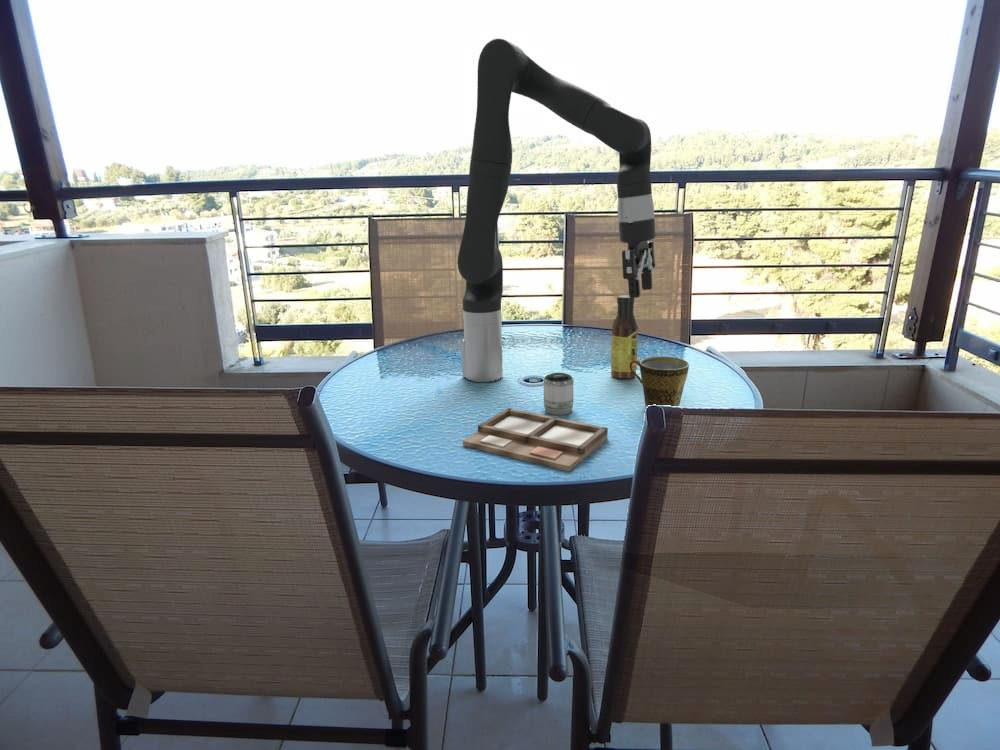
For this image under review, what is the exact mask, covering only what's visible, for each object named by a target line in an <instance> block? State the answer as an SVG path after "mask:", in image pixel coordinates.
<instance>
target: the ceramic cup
mask: <svg viewBox="0 0 1000 750" xmlns="http://www.w3.org/2000/svg"><path fill="white" fill-rule="evenodd" d="M633 363H636V364H637V366H638V367H639V371H640V376H639V375H638V373H637V372H636V373H635V372H634V370H633V369H632V364H633ZM689 369H690V363H689V361H686V360H685V359H683V358H678V357H672V356H658V355H657V356H649V357H645V358H643V359H640V360H638V359H637V360H634V361H632V362H631V363H630V370H631V372H632V373H633V374H634V375H635V377H636V379H638V381H639V383H641V385H642V390H643V397H644V398H643V399H644V404H645V405H644V406H645V407H646V406H648V405H653V404H656V405H671V406H679V407H680V404H681V399H682V396H683V392H684V388H685V385H686V381H687V377H688V373H689Z"/></svg>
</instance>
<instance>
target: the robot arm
mask: <svg viewBox="0 0 1000 750" xmlns="http://www.w3.org/2000/svg"><path fill="white" fill-rule="evenodd" d="M476 89H477V91H476V92H477V97H476V98H477V99H476V114H475V115H476V116H475V121H474V122H475V123H474V130H473V139H472V148H471V154H470V164H469V170H468V171H469V172H468V185H467V195H466V208H465V209H466V210H465V219H464V220H465V222H464V228H463V232H462V236H461V241H460V247H459V251H458V255H457V269H458V272H459V274H460V276H461V277H462V278H463V279H464V280H465V292H464V295H463V298H462V314H463V316H462V317H463V318H462V319H463V337H464V338H463V339H461V341H460V345H461V346H460V348H461V367H462V369H461V370H462V372H461V373H462V378H465V377H466V378H465V379H467V380H469V381H470V380H471V382H476V383H490V381H491V382H495V380H496V381H499V380H500V378H501V379H502V378H503V377H504V376H503V374H504V372H503V371H504V369H503V337H502V335H503V332H502V331H503V328H502V298H503V294H504V293H503V292H504V291H503V290H504V289H503V288H504V285H503V284H504V282H503V281H504V279H503V278H504V276H503V275H504V272H503V271H504V270H503V269H504V267H503V266H504V265H503V256H502V253H501V251H500V249H499V247H497V245H496V233H497V224H498V221H499V216H500V214H501V211H502V208H503V207H504V206H503V205H504V203H505V201H506V198H507V193H508V190H509V186H510V180H511V173H512V165H513V164H512V163H513V143H512V134H511V129H510V121H509V120H510V118H509V116H510V103H511V97H512V93H514V94H517V95H519V96H523V97H526V98H529V99H530V100H533V101H534V102H537V103H539V104H540V105H542V106H544V107H546V108H547V109H548V110H549V111H551V112H552V113H554V115H557V116H558V117H559V118H561V119H562V120H564V121H566V122H567V123H569V124H570V125H572V126H574V127H576V128H578V129H579V130H581V131H583V132H585V133H587V134H588V135H591V136H593V137H595V138H596V139H598V140H599V141H600V142H601V143H603V144H604V145H606V146H608V147H609V148H611V149H612V150H614V151H616V152H617V153H618V160H619V161H618V162H619V169H618V172H617V175H616V189H617V190H616V192H617V220H618V221H617V222H618V234H619V241H620V243H623V244H627V249H625V250H624V249H622V252H621V259H622V262H621V264H622V277H623V280H626V281H627V282H628V283H627V284H628V295H629V297H630V298H634V299H637V298H639V297H640V296H641V289H642V290H643V291H650V290H652V289H653V276H652V275H653V274H652V273H653V271H654V269H655V268H656V260H655V248H654V241H653V240H655V238H656V221H655V220H656V219H655V205H654V200H653V194H652V193H653V192H652V191H653V190H652V177H651V160H652V159H651V157H652V135H651V133H652V132H651V130H650V127H649V126H648V123H646V122H645V121H644V120H643V119H641V118H638V117H637V118H636V117H633V116H631V115H628V114H627V113H624V112H622V111H621V110H619V109H617V108H615V107H612V106H611V104H610V103H608V101H606V100H604V99H603V98H601V97H599V96H597V95H595V94H594V93H592V92H590V91H588V90H586V89H584V88H582V87H580V86H578V85H576V84H573V83H572V82H569V81H567V80H565V79H562V78H560V77H558V76H556V75H555V74H552V73H551V72H549V71H547V70H546V69H545V68H544V67H542V66H540V65H539V64H538V63H536V62H535V61H534V60H533V59H532V58H531V57H529V55H527V54H526V53H525V52H524V51H523V50H522V48H520V47H519V46H518V45H515V44H514V43H512V42H511V41H509V40H507V39H504V38H498V37H496V38H493V39H491V40H489V41H488V42H487V43H486V44H485V45H484V47H483V48H482V50H481V51H480V54H479V56H478V61H477V88H476ZM640 275H641V276H640ZM640 279H641V288H640ZM502 376H503V377H502ZM498 379H499V380H498Z"/></svg>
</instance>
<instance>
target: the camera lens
mask: <svg viewBox="0 0 1000 750" xmlns="http://www.w3.org/2000/svg"><path fill="white" fill-rule="evenodd" d="M574 382H575V381H574V378H573V376H572V375H570V374H567V373H565V372H553V373H549V374H547V375H546V376H545V377H544V378H543V405H544V406H543V407H544V409H545V410H544V411H545V412H546V413H547V414H550V415H554V416H564V415H569V414H570V413H572V410H573V407H574V384H575V383H574Z"/></svg>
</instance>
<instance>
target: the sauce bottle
mask: <svg viewBox="0 0 1000 750" xmlns="http://www.w3.org/2000/svg"><path fill="white" fill-rule="evenodd" d="M616 299H617V300H616V302H617V315H616V317H615V319H614V320H613V322H612V327H611V328H612V330H611V332H612V334H611V349H610V350H611V351H610V355H611V356H610V370H611V372H610V374H611V376H612V377H613V378H615V379H623V380H625V379H626V380H630V379H632V378H635V377H636V376H635V375H634V374H633V373H632V372H631V370H630V363H631V362H632V361H634V360H638V346H639V345H638V343H639V342H638V339H639V327H638V324H637V321H636V318H635V315H634V304H635V298H630V297H629V294H622V295H617V297H616ZM637 367H638V365H637V364H636V363H633V364H632V369H633V370H634V372H635V373H636V374H637V370H638V369H637Z"/></svg>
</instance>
